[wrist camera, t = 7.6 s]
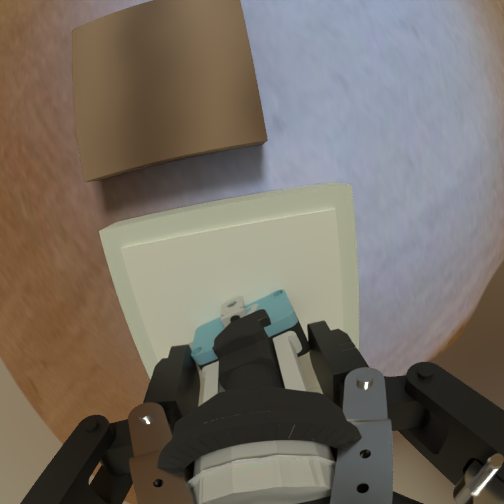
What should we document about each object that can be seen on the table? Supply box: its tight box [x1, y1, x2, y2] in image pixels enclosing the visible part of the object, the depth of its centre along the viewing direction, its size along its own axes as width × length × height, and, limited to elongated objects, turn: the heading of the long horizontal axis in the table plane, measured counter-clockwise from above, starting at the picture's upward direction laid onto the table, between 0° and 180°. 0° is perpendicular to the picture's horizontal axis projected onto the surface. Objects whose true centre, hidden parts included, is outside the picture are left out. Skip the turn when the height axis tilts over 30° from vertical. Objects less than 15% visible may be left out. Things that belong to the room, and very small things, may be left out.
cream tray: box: [99, 182, 359, 406], centre depth 16 cm, size 12×12×3 cm
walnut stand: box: [72, 0, 268, 182], centre depth 12 cm, size 9×9×2 cm
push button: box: [157, 289, 362, 504], centre depth 9 cm, size 7×5×10 cm
